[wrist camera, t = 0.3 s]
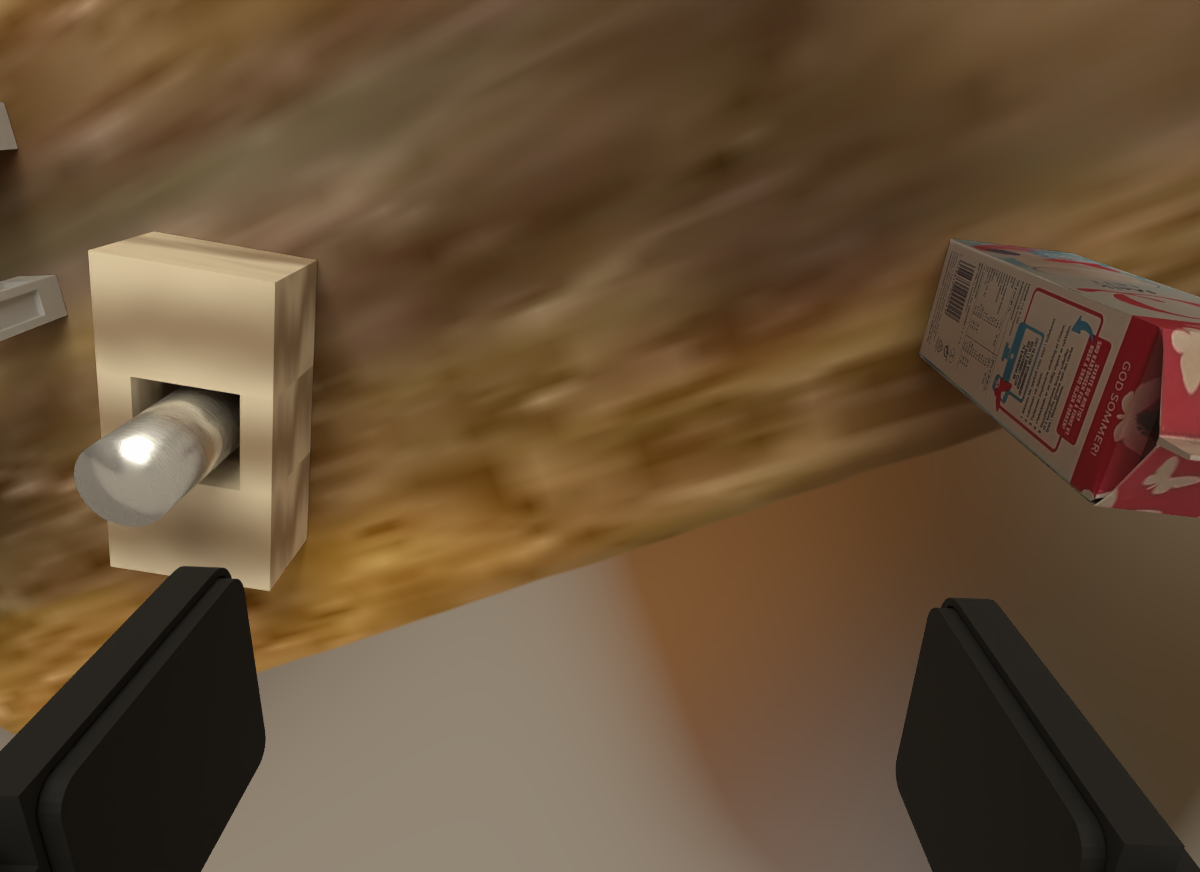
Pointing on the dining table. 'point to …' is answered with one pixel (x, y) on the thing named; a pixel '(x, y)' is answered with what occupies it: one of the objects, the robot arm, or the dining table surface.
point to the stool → (25, 279)
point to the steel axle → (158, 455)
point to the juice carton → (1077, 368)
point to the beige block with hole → (221, 363)
